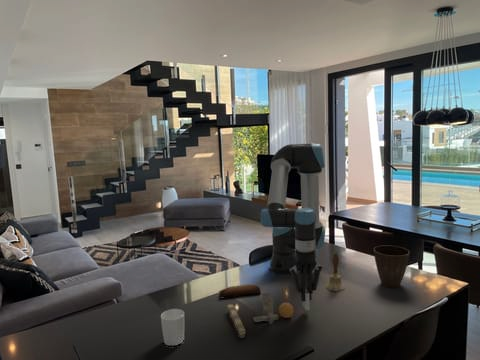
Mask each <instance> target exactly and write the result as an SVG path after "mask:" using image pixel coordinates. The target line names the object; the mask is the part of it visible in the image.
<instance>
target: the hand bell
mask: <svg viewBox="0 0 480 360" xmlns="http://www.w3.org/2000/svg"><path fill="white" fill-rule="evenodd" d="M339 261H340V260H339V255H338V252H334V253H333V257H332V265H333V273H332V274H330V276H329V280H328V282H327V284H326V285H325V288H326V289H327V290H329V291H331V292H342V291H344V290H345V287H346V286H345V285H344V284H343V283H342V279H341V275H339V274H338V266H339Z"/></svg>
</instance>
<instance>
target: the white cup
mask: <svg viewBox="0 0 480 360" xmlns="http://www.w3.org/2000/svg"><path fill="white" fill-rule="evenodd" d="M160 320H161V321H160V322H161V330H162V336H163V343H165V344H166V345H169V346H170V345H172V346H173V345H178V344H180V343H182V342H183V340H184V341H185V312H184V310H183V309H180V308H172V309H168V310H165V311H163V312H162V313H161V314H160ZM183 343H184V342H183ZM183 343H182V344H183ZM165 344H164V345H165ZM166 345H165V346H166Z"/></svg>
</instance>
